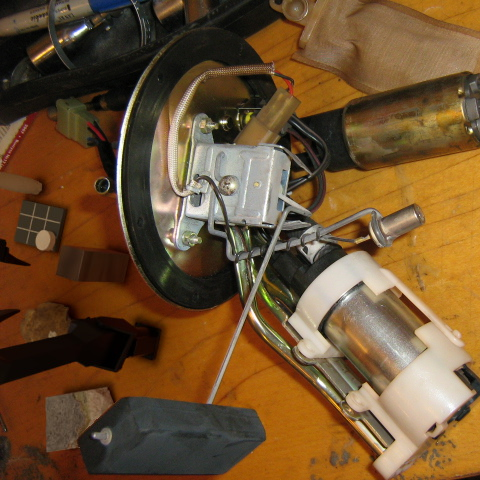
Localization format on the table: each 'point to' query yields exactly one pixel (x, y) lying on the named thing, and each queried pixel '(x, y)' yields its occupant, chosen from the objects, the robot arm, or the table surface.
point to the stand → (92, 264)
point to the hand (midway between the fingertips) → (24, 287)
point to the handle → (19, 183)
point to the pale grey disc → (45, 240)
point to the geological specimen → (73, 416)
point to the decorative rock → (45, 322)
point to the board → (39, 223)
